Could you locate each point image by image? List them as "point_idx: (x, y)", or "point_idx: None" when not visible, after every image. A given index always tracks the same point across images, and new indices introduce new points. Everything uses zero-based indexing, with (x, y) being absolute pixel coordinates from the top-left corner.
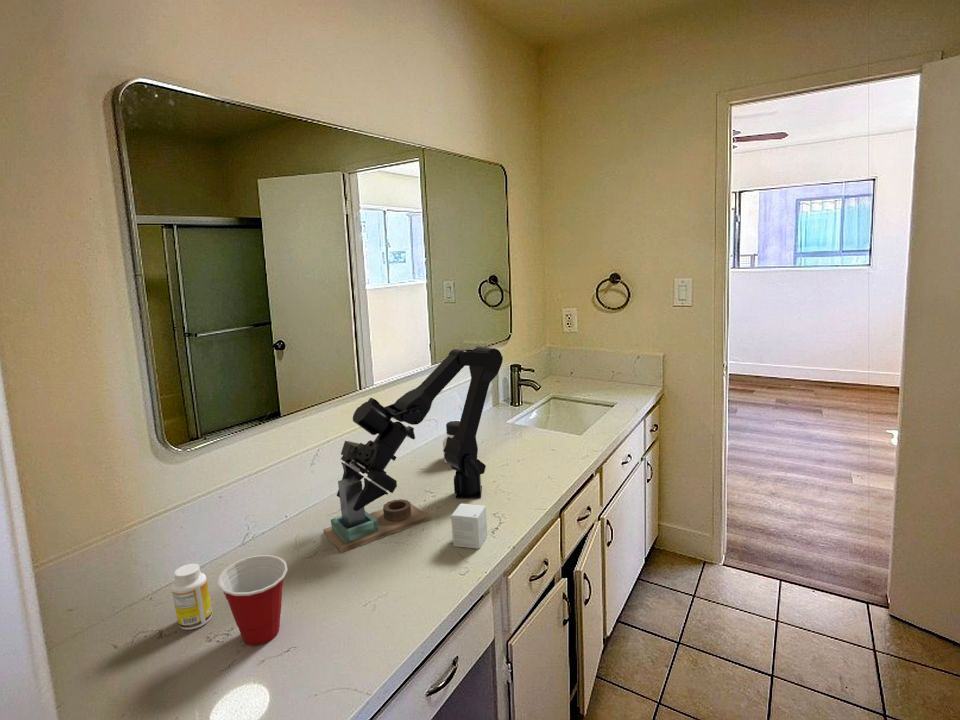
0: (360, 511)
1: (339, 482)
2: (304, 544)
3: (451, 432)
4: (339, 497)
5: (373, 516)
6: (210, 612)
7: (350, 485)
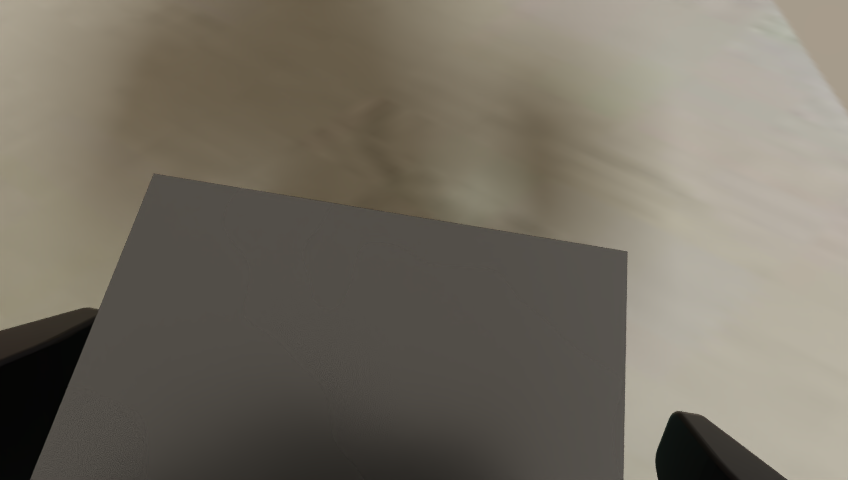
0: None
1: (517, 236)
2: (538, 173)
3: None
4: (659, 444)
5: None
6: None
7: (105, 327)
